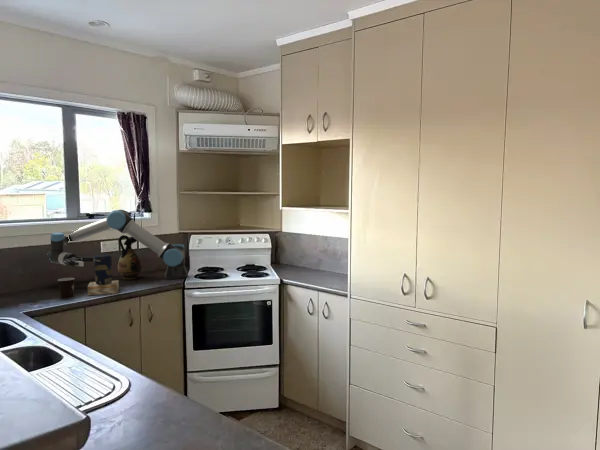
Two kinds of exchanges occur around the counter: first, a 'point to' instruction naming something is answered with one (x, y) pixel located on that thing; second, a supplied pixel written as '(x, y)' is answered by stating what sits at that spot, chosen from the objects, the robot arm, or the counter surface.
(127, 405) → the counter surface
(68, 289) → the coffee mug
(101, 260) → the canister
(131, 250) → the ceramic jug
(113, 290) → the dock
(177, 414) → the counter surface
